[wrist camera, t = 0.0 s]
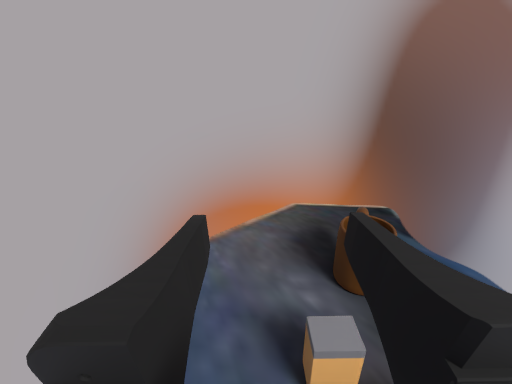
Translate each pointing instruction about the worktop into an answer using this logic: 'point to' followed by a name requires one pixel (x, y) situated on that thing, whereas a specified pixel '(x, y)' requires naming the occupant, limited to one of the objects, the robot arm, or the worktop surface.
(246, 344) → the worktop surface
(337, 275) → the mug
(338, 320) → the plug
